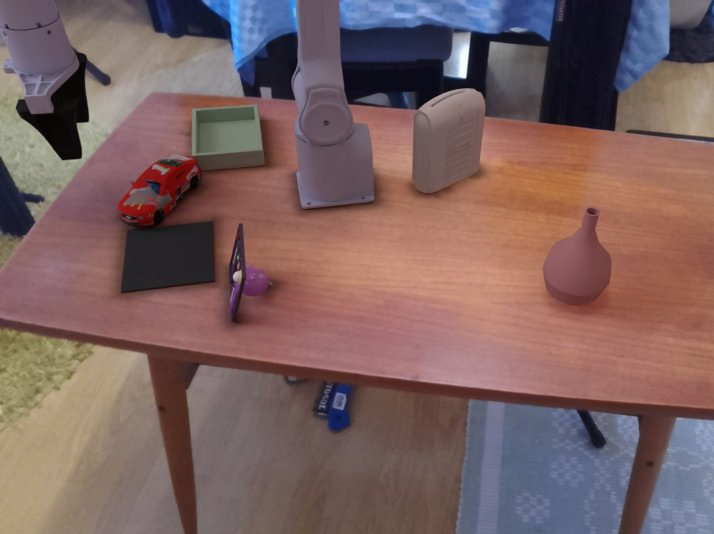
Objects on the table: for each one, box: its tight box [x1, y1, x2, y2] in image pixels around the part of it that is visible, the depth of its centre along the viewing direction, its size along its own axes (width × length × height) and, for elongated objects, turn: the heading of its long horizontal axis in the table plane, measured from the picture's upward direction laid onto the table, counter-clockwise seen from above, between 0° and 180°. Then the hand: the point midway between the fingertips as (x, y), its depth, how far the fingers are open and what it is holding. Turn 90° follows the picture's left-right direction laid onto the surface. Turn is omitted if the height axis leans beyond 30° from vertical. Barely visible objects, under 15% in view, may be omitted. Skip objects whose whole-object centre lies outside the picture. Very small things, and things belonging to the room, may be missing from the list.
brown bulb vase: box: [542, 206, 613, 307], centre depth 75 cm, size 8×8×12 cm
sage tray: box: [191, 103, 266, 172], centre depth 96 cm, size 9×12×2 cm
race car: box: [116, 153, 203, 227], centre depth 86 cm, size 13×5×4 cm, turn 161°
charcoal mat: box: [120, 220, 215, 294], centre depth 80 cm, size 10×11×1 cm
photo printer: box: [411, 87, 487, 194], centre depth 89 cm, size 10×4×12 cm, turn 131°
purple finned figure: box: [228, 222, 273, 323], centre depth 75 cm, size 7×5×9 cm
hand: (76, 139), depth 78 cm, fingers open, 7 cm apart
